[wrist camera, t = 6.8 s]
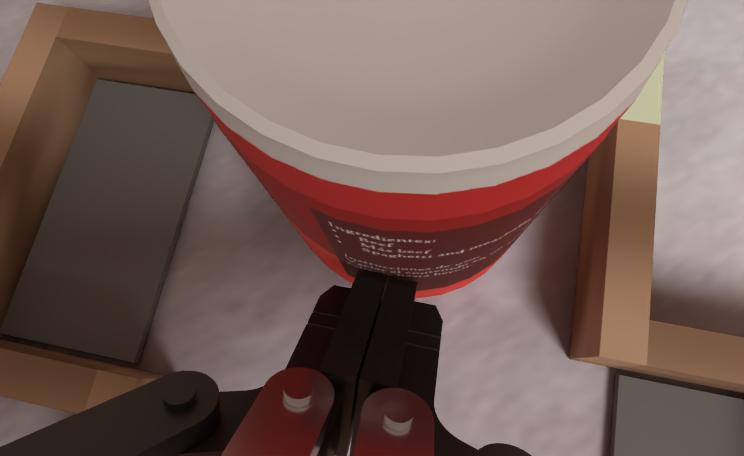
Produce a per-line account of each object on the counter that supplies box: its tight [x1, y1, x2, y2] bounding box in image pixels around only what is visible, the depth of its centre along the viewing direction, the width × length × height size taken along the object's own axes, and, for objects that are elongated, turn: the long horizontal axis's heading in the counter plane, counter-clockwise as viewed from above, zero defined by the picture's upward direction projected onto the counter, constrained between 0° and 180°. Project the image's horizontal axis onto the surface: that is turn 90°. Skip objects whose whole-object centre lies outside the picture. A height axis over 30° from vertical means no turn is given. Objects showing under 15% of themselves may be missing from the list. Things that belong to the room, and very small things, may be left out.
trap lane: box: [0, 3, 744, 414], centre depth 14 cm, size 23×27×2 cm
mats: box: [0, 79, 744, 456], centre depth 16 cm, size 17×24×1 cm
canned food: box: [149, 0, 688, 298], centre depth 12 cm, size 8×8×11 cm
